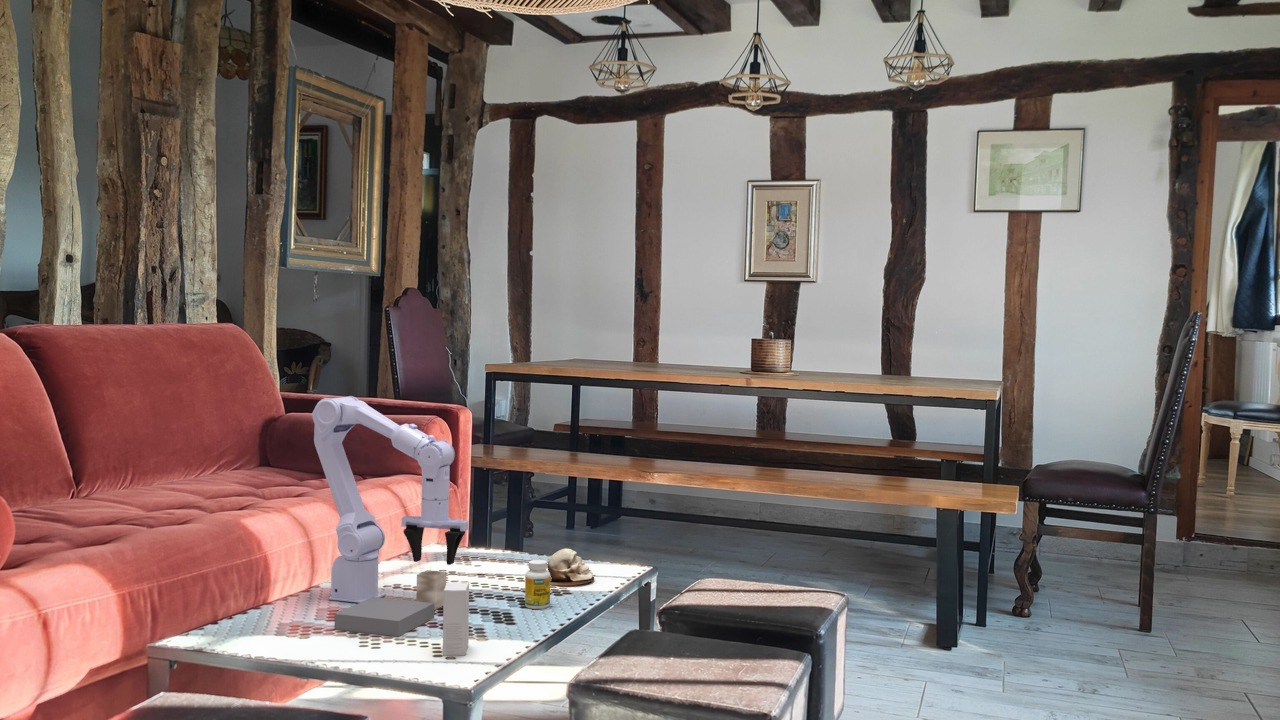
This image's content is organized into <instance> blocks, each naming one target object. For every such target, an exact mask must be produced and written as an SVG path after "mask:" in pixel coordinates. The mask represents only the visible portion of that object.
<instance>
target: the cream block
mask: <svg viewBox="0 0 1280 720" xmlns="http://www.w3.org/2000/svg"><path fill="white" fill-rule="evenodd" d="M446 583H447V572H446V571H442V570H441V571H440V570H431V569H430V570H429V569H428V570H424V571H422V572H419V573H418V574H416V598H415V599H416V601H418V602H428V603H434V611H436V610H438V609H440V608H441V607H443V596H444V589H445V586H446Z"/></svg>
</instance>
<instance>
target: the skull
mask: <svg viewBox="0 0 1280 720" xmlns="http://www.w3.org/2000/svg"><path fill="white" fill-rule="evenodd" d="M577 553H578V552H577V551H575V550H573V549H571V548H562V549H559V550H557V551H556V552H554V554H552V555H551V556H550V557H549V559H548V561H547V571H549V573H550V586H561V587H564V586H565V587H566V586H577V585H582V584H587V583H590V582H592V581H594V580H595V577H594V576H593V574H592V573H591V572H590V569H589V566H588V565H587V564H586V563H585V562H584V561H583V559H582V557H581V556H578V555H577Z"/></svg>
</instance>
